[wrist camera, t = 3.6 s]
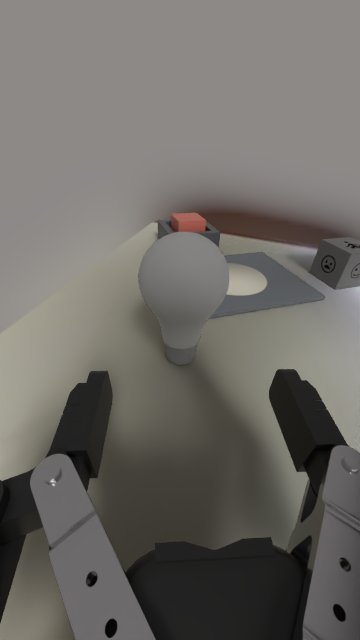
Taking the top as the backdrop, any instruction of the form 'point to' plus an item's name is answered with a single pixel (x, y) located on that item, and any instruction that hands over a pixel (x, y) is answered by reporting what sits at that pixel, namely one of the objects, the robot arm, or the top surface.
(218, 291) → the lightbulb
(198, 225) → the button
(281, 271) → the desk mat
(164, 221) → the button box
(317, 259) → the dice cube
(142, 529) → the top surface
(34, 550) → the top surface
